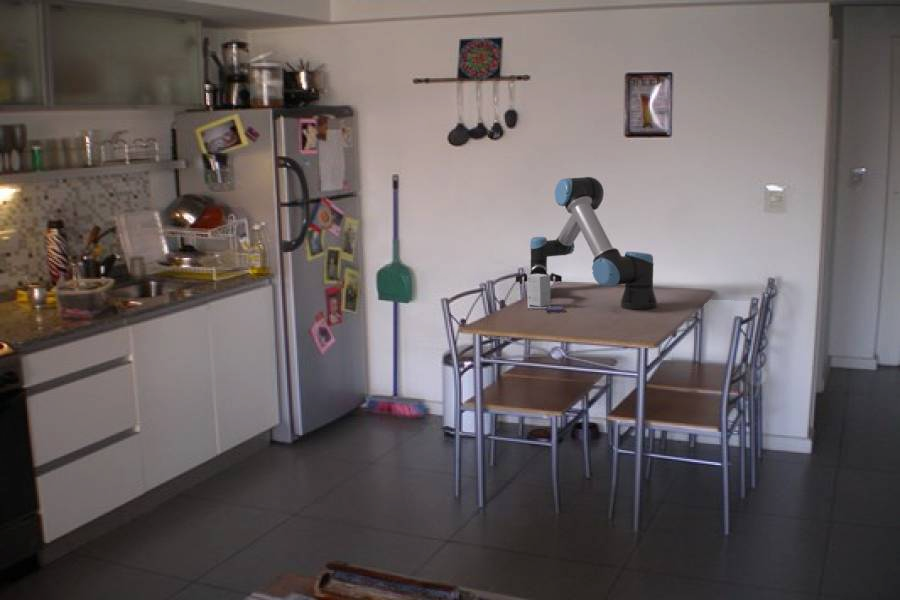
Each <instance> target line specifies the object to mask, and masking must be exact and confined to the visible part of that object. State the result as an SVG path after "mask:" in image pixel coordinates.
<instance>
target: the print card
mask: <svg viewBox="0 0 900 600" xmlns="http://www.w3.org/2000/svg"><path fill="white" fill-rule="evenodd" d="M547 307H551V304H550V305H547V306H542V307H539V306H534V305H528V304H527V310H528V309H547Z"/></svg>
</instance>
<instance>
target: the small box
mask: <svg viewBox="0 0 900 600" xmlns="http://www.w3.org/2000/svg"><path fill="white" fill-rule="evenodd" d="M526 283H527V284H526V287H527V292H526V293H527V296H526V297H527V300H526V301H527V306H528V305H534V306H539V307H542V306H547V305H550V306H551V281H550V274H548V275H544V274H531V275H529V274H527V281H526Z"/></svg>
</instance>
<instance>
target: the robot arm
mask: <svg viewBox="0 0 900 600" xmlns="http://www.w3.org/2000/svg"><path fill="white" fill-rule="evenodd" d="M604 195H605V193H604V187H603V185H602V183H601V182H600V181H599V180H598V179H596V178H594V177H593V176H586V177H585V176H584V177H571V178H570V177H567V178H562V179H560V180H559V181H558V182H557V184H556V186H555V190H554V198H555V201H556V204H557V205H558V206H560V207H565V210H566V211H567V213H569V214H571V215H570V217H569V218H568V220H567V221H566V223H565V224H564V226H563V227H562V230H561V231H560V233H559V235H558V236H557V238H556V239H553V240H552V239H551V240H548V239H547V237H546V236H545V237H544V236H533V237H532V238H531V239H530V244H529V247H530V272H529V274H527V272H525V273H522V274H519V275H516V276H515V282H516V283H519V284H520V285H522V286H525V282H526V283H527V275H531V274H544V275H550V282H552V283H553V286H555V285H556V283H562V282H563V280H562V279H563V277H562V275H560V274H555V273H553V272H551V273H550V274H549V273H548V267H547V266H548V265H547V264H548V258H549V257H550V258H551V257H559V256H567V255H572V254H573V252H575V241H576V239H577V237H578V236H579V234H580V233H581V234H583V237H584V239H585V241H586V243H587V245H588V247H589V249H590V251H591V253H592V255H593V260H592V268H591V270H592V275H593V278H594V280H595V281H596V282H597V283H598V284H599V285H600V286H603V287H614V286H620V285H624V291H623V293H622V296H621V299H620V307H621V308H624V309H629V310H651V309H654V308H657V305H658V301H657V297H656V293H655V291H654V287H653V286H654V264H655V263H654V256H653V254H651V253H647V252H638V251H636V252H635V251H626V252H625V254H624V255H623V256H622V255H621V252H620V251H619V249H618V248H615V247H613V245H612V244H611V241H610V239H609V238H608V236H607V234H606V231H605V230H604V228H603V226H602V224H601V221H600V220H599V218H598V216H597V214H596V213H595V210H597V209H599V207H600V206H601V203H602V202H603V199H604Z"/></svg>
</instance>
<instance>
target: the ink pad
mask: <svg viewBox="0 0 900 600" xmlns="http://www.w3.org/2000/svg"><path fill="white" fill-rule="evenodd" d="M547 312H548V313H547ZM551 312H557V313H556V314H559V313H558V312H565V311H564V306H550V307H547V310H546V313H547V314H552V313H551Z"/></svg>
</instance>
